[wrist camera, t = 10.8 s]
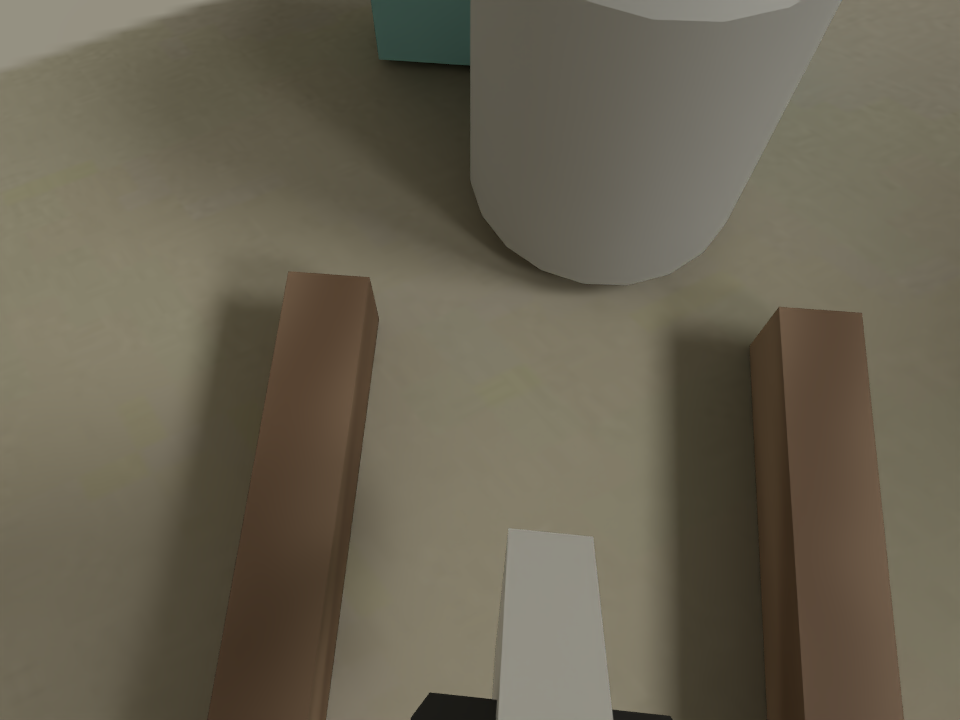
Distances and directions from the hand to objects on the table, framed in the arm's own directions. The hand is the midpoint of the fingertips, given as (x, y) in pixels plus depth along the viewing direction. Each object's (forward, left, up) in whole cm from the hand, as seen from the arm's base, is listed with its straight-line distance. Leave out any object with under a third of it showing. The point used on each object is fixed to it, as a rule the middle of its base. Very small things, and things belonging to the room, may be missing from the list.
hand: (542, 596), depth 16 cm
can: (-1, -12, -5) cm, 14 cm away
